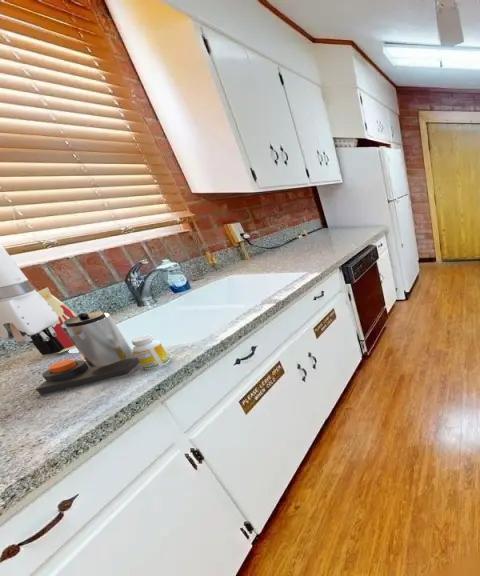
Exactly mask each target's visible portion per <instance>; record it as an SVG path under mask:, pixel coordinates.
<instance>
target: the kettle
mask: <svg viewBox="0 0 480 576" xmlns="http://www.w3.org/2000/svg"><path fill="white" fill-rule="evenodd" d="M61 327H62V329H63V330H64V331H65V333H66V334H67V336H68V337H69V338H70V340H71V341H72V342H73V344H74V345H75V347H76V348H75V349H77V351H78V352H79V354H80V355H81V356H82V358H83V360H84V361H86V362H87V363H88V364H89V366H91V367H100V366H105V365H109V364H112V363H115V362H118V361H121V360H123V359H125V358H127V357H128V356H130V355H131V354H132V353H133V348H131V346H130V345H129V342H128V341H127V340H126V338H125V337H124V335H123V334H122V332H121V331H120V329H119V327H118V326H117V324H116V322H115V321H114V319H113V318H112V316H111V314H110V313H108V312H104V311H92V312H80V313H79V314H77V316H75V317H72V318H70V319H67V320H66V321H64V324H62V325H61Z"/></svg>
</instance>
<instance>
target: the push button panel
mask: <svg viewBox="0 0 480 576" xmlns="http://www.w3.org/2000/svg"><path fill="white" fill-rule="evenodd" d="M73 361H74V362H75V363H76V365H77V366H75V367H73V368H71V369H69V370H66V371H63V372H60V373H52V372H51V371H50V369H49V368H48V369H47V370H46V371H43V373H41V376H42V377H43V379H44V380H45V381H44V382H42V383H41V384H40V385H38V386H37V387H36V388H35V390H36V392H37V393H38V394H39V395H40V396H44V395H49V394H52V393H57V392H61V391H65V390H69V389H73V388H78V387H81V386H86V385H90V384H94V383H98V382H102V381H103V382H104V381H106V380H110V379H114V378H118V377H124V376H127V375H129V374H130V373H131V372H132V371H133V370H134V369H135V368H136V367H137V366H138V365H139V364H141V363H140V361H139V360H138V358H137V357H136V355H135V353H134V352H133V353H132V354H131V355H130V356H128V357H127V358H125V359H123V360H121V361H118V362H115V363H112V364H109V365H105V366H100V367H91V366H89V364H88V363H87V362H86V360H85V359H76V360H73Z"/></svg>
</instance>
